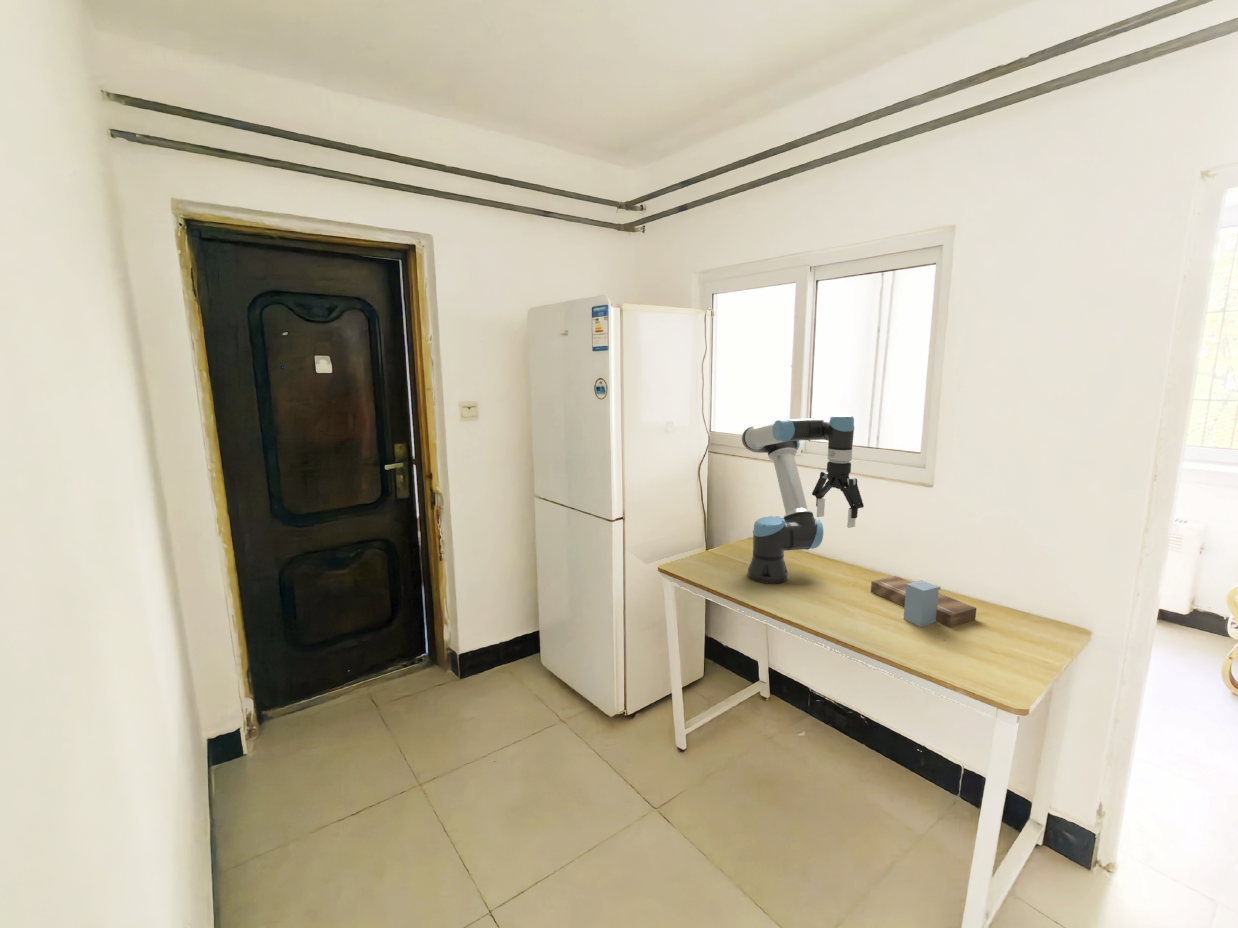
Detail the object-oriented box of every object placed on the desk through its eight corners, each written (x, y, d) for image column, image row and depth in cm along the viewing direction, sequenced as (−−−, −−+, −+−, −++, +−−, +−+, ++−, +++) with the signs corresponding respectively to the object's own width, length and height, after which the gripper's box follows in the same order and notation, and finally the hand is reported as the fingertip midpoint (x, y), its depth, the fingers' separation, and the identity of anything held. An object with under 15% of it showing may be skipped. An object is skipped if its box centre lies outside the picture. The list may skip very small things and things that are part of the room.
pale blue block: (903, 618, 172) (906, 583, 170) (927, 612, 176) (930, 578, 174) (920, 626, 166) (923, 590, 164) (944, 619, 170) (947, 584, 168)
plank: (870, 591, 193) (871, 580, 192) (894, 585, 197) (895, 575, 197) (950, 627, 166) (951, 614, 165) (975, 619, 170) (976, 607, 170)
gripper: (803, 456, 188) (800, 513, 192) (861, 468, 166) (856, 533, 170) (819, 454, 191) (816, 511, 195) (878, 466, 169) (873, 530, 173)
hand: (835, 521), depth 183 cm, fingers open, 13 cm apart
